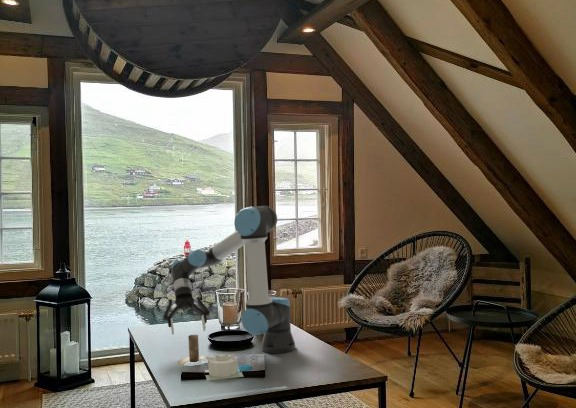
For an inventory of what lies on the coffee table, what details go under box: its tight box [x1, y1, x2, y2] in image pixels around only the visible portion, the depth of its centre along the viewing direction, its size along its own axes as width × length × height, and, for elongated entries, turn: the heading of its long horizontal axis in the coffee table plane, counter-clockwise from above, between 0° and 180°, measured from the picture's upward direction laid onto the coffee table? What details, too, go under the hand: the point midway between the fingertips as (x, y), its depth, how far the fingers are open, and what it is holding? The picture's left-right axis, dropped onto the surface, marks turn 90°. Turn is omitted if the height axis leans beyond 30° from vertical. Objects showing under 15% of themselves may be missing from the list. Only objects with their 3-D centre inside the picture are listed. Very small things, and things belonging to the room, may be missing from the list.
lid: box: [176, 334, 210, 367], centre depth 240 cm, size 14×14×12 cm
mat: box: [205, 371, 244, 381], centre depth 224 cm, size 14×14×1 cm
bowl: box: [207, 353, 239, 378], centre depth 224 cm, size 11×11×6 cm
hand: (188, 331), depth 247 cm, fingers open, 13 cm apart
